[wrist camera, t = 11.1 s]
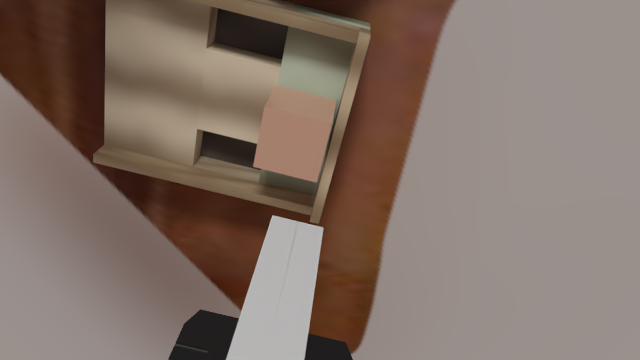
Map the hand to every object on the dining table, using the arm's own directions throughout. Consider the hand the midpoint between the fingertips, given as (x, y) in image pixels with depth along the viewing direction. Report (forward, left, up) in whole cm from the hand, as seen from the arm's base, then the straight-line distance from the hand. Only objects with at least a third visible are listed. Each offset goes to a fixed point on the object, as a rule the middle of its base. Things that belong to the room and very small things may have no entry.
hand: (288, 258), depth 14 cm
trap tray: (+6, -8, -28) cm, 30 cm away
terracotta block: (+6, -2, -26) cm, 27 cm away
